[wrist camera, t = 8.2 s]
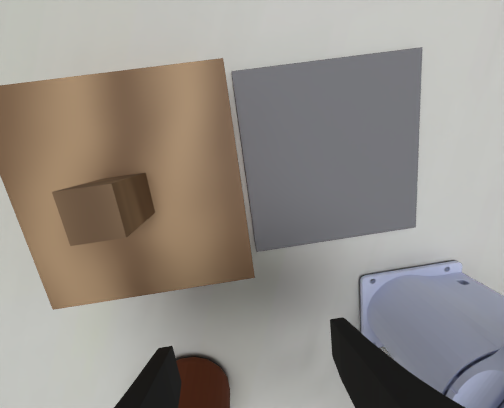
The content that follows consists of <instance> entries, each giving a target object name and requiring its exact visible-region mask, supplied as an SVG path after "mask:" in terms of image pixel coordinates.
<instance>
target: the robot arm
mask: <svg viewBox="0 0 504 408" xmlns="http://www.w3.org/2000/svg"><path fill="white" fill-rule="evenodd" d="M371 279H373V280H372V281H370V280H371ZM360 298H361V332H359V331H358V330H357V329H356V328H355V327H354V326H353V325H352V324H350V323H349V322H348V321H347V320H346V319H345V318H337V319H331V320H330V325H331V341H332V356H333V359H334V361H335V364H336V367H337V369H338V372H339V375H340V377H341V380H342V382H343V384H344V386H345V388H346V390H347V392H348V394H349V396H350V398H351V400H352V402H353V404H354V406H355V408H504V296H503V295H501V294H499V293H497V292H496V291H494V290H492V289H490V288H489V287H487V286H485V285H483V284H482V283H480V282H478V281H476V280H474V279H473V278H471V277H469V276H467V275H466V274H464V273H462V264H461V263H460V262H458V261H450V262H444V263H438V264H432V265H426V266H419V267H413V268H407V269H401V270H395V271H388V272H382V273H376V274H370V275H364V276H363V277H361V279H360ZM379 347H385V348H386V350H387V351H388V352H389V354H390V355H391V356H392V358H393V359H394V360H395V361H394V360H393V359H392V358H391V357H389V356H388V355H387V354H386V353H384V352H383V351H382V350H381V349H379ZM181 383H182V382H181V378H180V374H179V370H178V366H177V362H176V359H175V355H174V351H173V347H172V346H169V347H163V348H158V350H157V351H156V352H155V354H154V355H153V356H152V358H151V359H150V360H149V362H148V363H147V365H146V366H145V367H144V369H143V370H142V371H141V373H140V374H139V376H138V377H137V378H136V380H135V381H134V382H133V384H132V385H131V386H130V388H129V389H128V390H127V392H126V393H125V394H124V396H123V397H122V398H121V400H120V401H119V402H118V403H117V405H116V406H115V407H114V408H178V406H179V399H180V391H181Z"/></svg>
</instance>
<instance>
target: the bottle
mask: <svg viewBox="0 0 504 408" xmlns="http://www.w3.org/2000/svg"><path fill="white" fill-rule="evenodd" d="M176 362H177V366H178V370H179V374H180V378H181V382H182V383H181V391H180V399H179V406H178V408H230V388H229V383H228V378H227V376H226V374H225V373H224V372H223V370H222V369H221V368H220V367H219V366H218V365H216V364H215V363H213V362H211V361H210V360H208V359H204V358H199V357H188V358H181V359H179V360H177V361H176Z"/></svg>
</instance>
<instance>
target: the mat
mask: <svg viewBox="0 0 504 408" xmlns="http://www.w3.org/2000/svg"><path fill="white" fill-rule="evenodd" d="M421 66H422V47H421V48H413V49H405V50H397V51H389V52H381V53H373V54H365V55H357V56H349V57H341V58H333V59H325V60H318V61H310V62H302V63H294V64H286V65H278V66H270V67H262V68H254V69H246V70H238V71H232V79H233V86H234V93H235V100H236V107H237V115H238V122H239V129H240V136H241V143H242V150H243V158H244V165H245V172H246V179H247V186H248V194H249V201H250V208H251V215H252V222H253V229H254V237H255V244H256V251H257V252H259V251H265V250H272V249H278V248H285V247H291V246H298V245H304V244H311V243H317V242H324V241H330V240H336V239H343V238H349V237H356V236H362V235H369V234H375V233H382V232H388V231H395V230H401V229H408V228H414V227H416V203H417V176H418V148H419V121H420V94H421Z"/></svg>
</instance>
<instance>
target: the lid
mask: <svg viewBox="0 0 504 408" xmlns="http://www.w3.org/2000/svg"><path fill="white" fill-rule="evenodd" d="M0 176H1V178H2V181H3V183H4V186H5V188H6V191H7V193H8V196H9V199H10V201H11V204H12V206H13V209H14V211H15V214H16V216H17V219H18V222H19V224H20V227H21V229H22V232H23V234H24V237H25V239H26V242H27V245H28V247H29V250H30V252H31V255H32V257H33V260H34V263H35V265H36V268H37V270H38V273H39V275H40V278H41V280H42V283H43V286H44V288H45V291H46V293H47V296H48V298H49V301H50V303H51V306H52V309H60V308H66V307H72V306H79V305H85V304H91V303H98V302H104V301H110V300H117V299H123V298H129V297H136V296H142V295H148V294H155V293H161V292H167V291H174V290H180V289H186V288H192V287H199V286H205V285H211V284H218V283H224V282H230V281H237V280H243V279H249V278H255V275H254V269H253V262H252V255H251V248H250V241H249V234H248V227H247V220H246V213H245V206H244V200H243V193H242V186H241V179H240V172H239V165H238V158H237V151H236V144H235V137H234V131H233V124H232V117H231V110H230V103H229V96H228V89H227V82H226V75H225V68H224V62H223V58H221V59H213V60H204V61H196V62H188V63H180V64H172V65H164V66H156V67H148V68H139V69H131V70H123V71H115V72H107V73H99V74H91V75H82V76H74V77H66V78H58V79H50V80H42V81H34V82H25V83H17V84H9V85H1V86H0Z"/></svg>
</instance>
